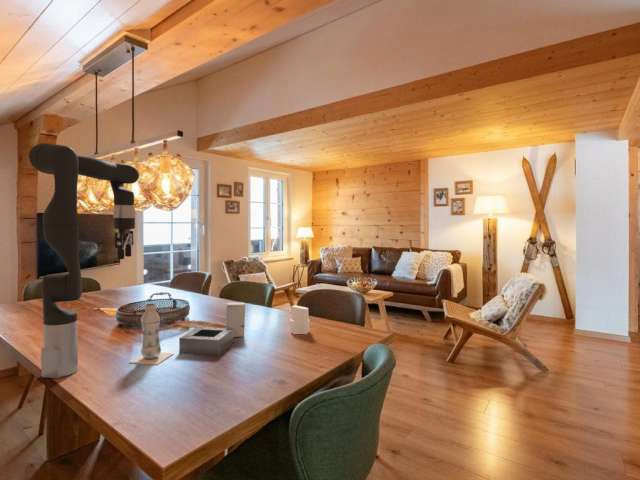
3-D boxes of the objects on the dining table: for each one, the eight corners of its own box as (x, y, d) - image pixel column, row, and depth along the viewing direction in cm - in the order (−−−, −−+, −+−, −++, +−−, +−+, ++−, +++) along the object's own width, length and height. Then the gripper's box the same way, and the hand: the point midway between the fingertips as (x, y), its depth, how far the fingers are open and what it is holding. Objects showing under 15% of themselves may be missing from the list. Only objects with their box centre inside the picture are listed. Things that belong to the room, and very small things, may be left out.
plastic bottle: (154, 361, 133) (153, 307, 131) (137, 360, 134) (136, 306, 132) (164, 355, 139) (164, 303, 137) (148, 353, 140) (147, 302, 139)
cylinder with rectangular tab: (313, 332, 174) (313, 307, 173) (299, 336, 167) (299, 310, 166) (299, 328, 180) (299, 304, 179) (286, 332, 173) (286, 307, 172)
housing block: (218, 355, 141) (218, 340, 140) (179, 353, 143) (179, 338, 142) (233, 342, 157) (233, 328, 156) (198, 340, 159) (198, 326, 158)
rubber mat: (157, 364, 131) (157, 363, 131) (129, 363, 132) (129, 362, 132) (173, 354, 141) (173, 353, 141) (147, 352, 143) (147, 351, 143)
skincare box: (226, 338, 163) (226, 304, 162) (225, 334, 168) (225, 302, 168) (245, 336, 165) (245, 304, 165) (243, 332, 171) (244, 301, 170)
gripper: (128, 217, 137) (129, 260, 139) (139, 216, 151) (140, 255, 153) (106, 216, 136) (107, 260, 137) (120, 216, 150) (120, 255, 151)
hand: (124, 257), depth 145 cm, fingers open, 8 cm apart
